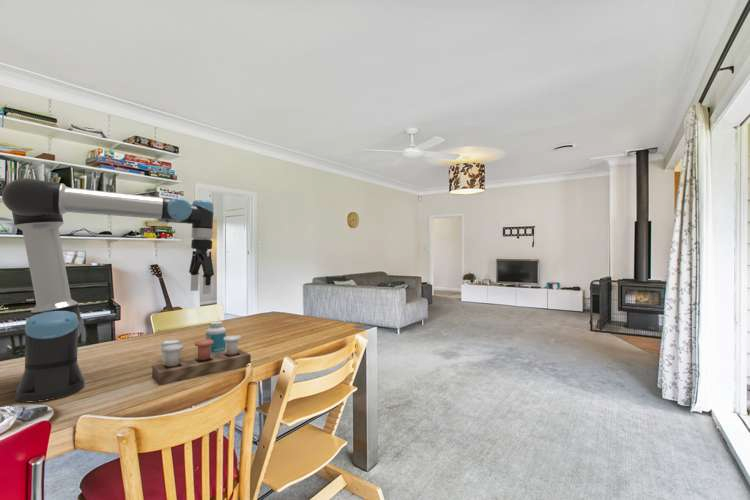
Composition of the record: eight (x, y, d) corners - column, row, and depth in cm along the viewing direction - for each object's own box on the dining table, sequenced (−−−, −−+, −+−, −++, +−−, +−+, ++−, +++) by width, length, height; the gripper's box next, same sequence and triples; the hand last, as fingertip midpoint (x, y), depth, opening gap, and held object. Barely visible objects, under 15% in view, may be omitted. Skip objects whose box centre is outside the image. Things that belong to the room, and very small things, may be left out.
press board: (159, 385, 112) (159, 372, 112) (151, 377, 119) (152, 365, 119) (250, 365, 133) (250, 354, 133) (239, 359, 140) (239, 349, 140)
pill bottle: (229, 353, 148) (229, 321, 149) (219, 358, 141) (220, 324, 141) (212, 352, 149) (212, 320, 149) (201, 357, 142) (202, 324, 142)
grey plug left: (164, 368, 115) (165, 349, 115) (160, 363, 119) (160, 346, 119) (185, 364, 119) (185, 346, 119) (180, 360, 123) (180, 343, 123)
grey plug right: (227, 356, 129) (227, 339, 129) (221, 352, 133) (221, 336, 133) (243, 353, 133) (243, 337, 133) (236, 350, 137) (237, 334, 137)
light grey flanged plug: (165, 363, 134) (165, 344, 134) (157, 359, 138) (158, 341, 139) (184, 358, 140) (184, 341, 140) (176, 355, 144) (176, 338, 144)
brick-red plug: (197, 362, 122) (198, 344, 122) (192, 358, 126) (192, 341, 126) (215, 358, 126) (216, 341, 126) (209, 354, 130) (210, 338, 130)
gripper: (224, 239, 136) (222, 294, 135) (200, 240, 153) (199, 289, 153) (203, 238, 130) (201, 295, 130) (181, 239, 148) (180, 289, 147)
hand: (200, 292), depth 141 cm, fingers open, 13 cm apart
